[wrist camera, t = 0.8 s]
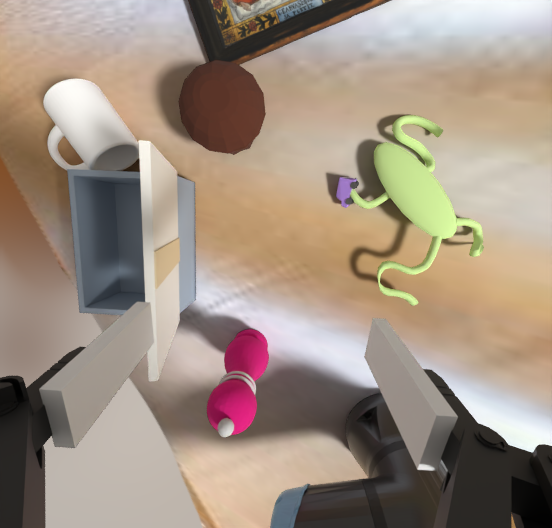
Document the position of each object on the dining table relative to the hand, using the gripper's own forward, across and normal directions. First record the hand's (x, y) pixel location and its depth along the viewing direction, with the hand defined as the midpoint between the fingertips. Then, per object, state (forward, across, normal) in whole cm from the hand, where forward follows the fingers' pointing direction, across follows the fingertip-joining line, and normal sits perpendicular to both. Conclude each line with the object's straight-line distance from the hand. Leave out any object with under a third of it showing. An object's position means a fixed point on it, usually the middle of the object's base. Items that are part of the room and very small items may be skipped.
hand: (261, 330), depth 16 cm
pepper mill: (+27, +3, +21) cm, 34 cm away
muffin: (+33, +8, -16) cm, 37 cm away
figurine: (+30, -22, -4) cm, 37 cm away
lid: (+14, +12, +1) cm, 18 cm away
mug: (+33, +28, -11) cm, 45 cm away
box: (+30, +20, +4) cm, 36 cm away
